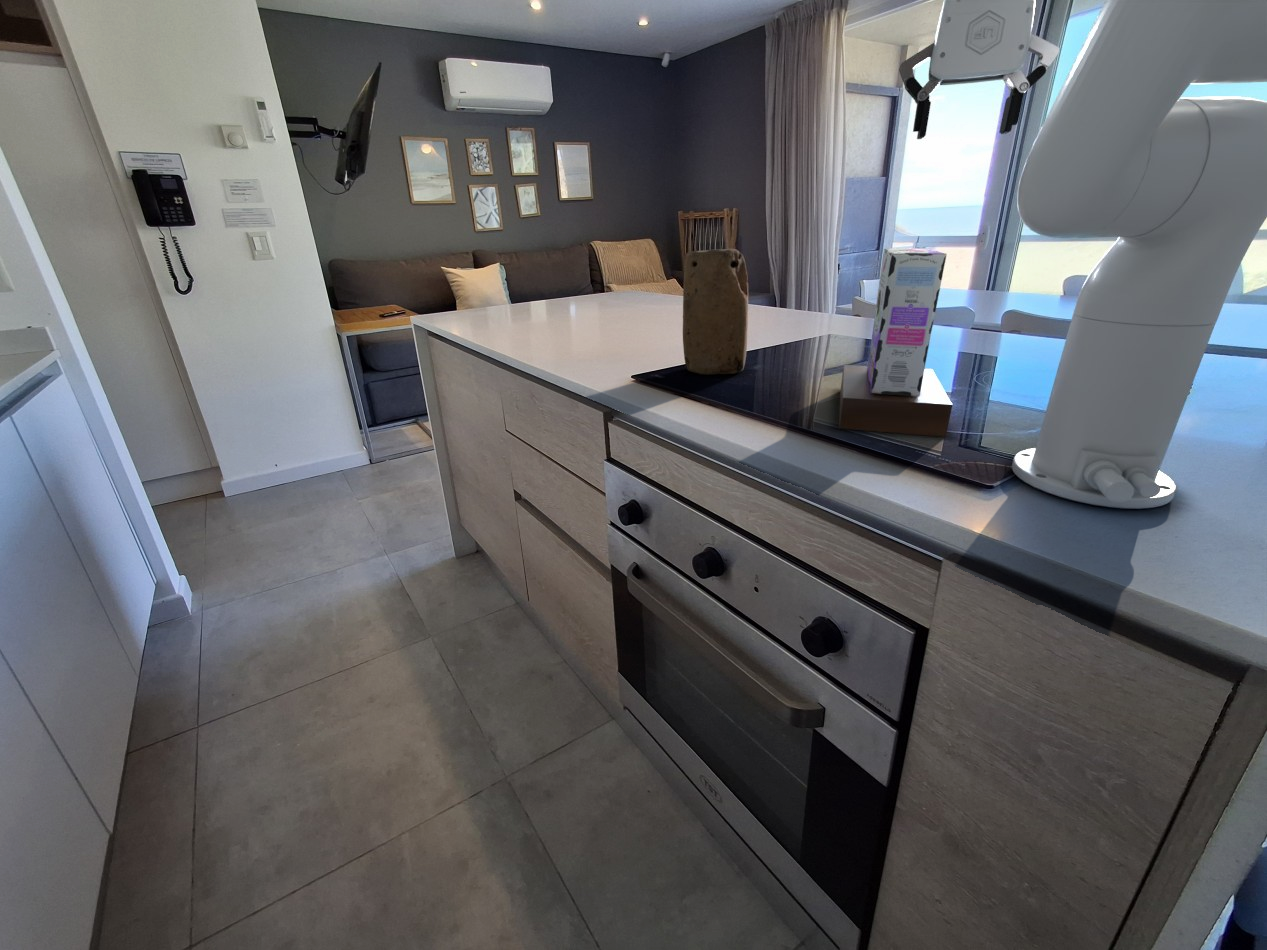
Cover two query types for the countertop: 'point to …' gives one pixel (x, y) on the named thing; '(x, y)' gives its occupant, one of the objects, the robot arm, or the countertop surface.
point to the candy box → (904, 319)
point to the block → (715, 311)
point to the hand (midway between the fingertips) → (962, 135)
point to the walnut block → (893, 406)
